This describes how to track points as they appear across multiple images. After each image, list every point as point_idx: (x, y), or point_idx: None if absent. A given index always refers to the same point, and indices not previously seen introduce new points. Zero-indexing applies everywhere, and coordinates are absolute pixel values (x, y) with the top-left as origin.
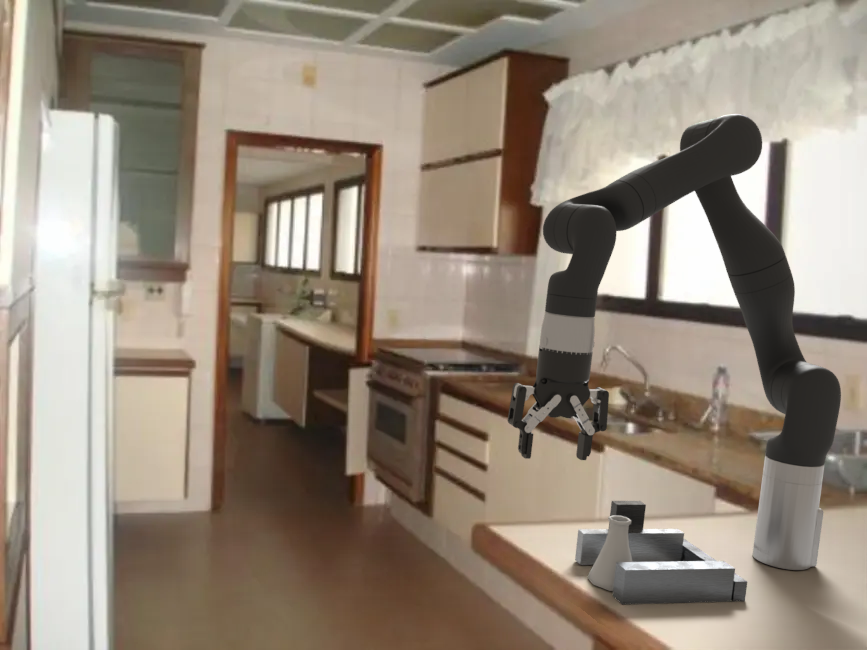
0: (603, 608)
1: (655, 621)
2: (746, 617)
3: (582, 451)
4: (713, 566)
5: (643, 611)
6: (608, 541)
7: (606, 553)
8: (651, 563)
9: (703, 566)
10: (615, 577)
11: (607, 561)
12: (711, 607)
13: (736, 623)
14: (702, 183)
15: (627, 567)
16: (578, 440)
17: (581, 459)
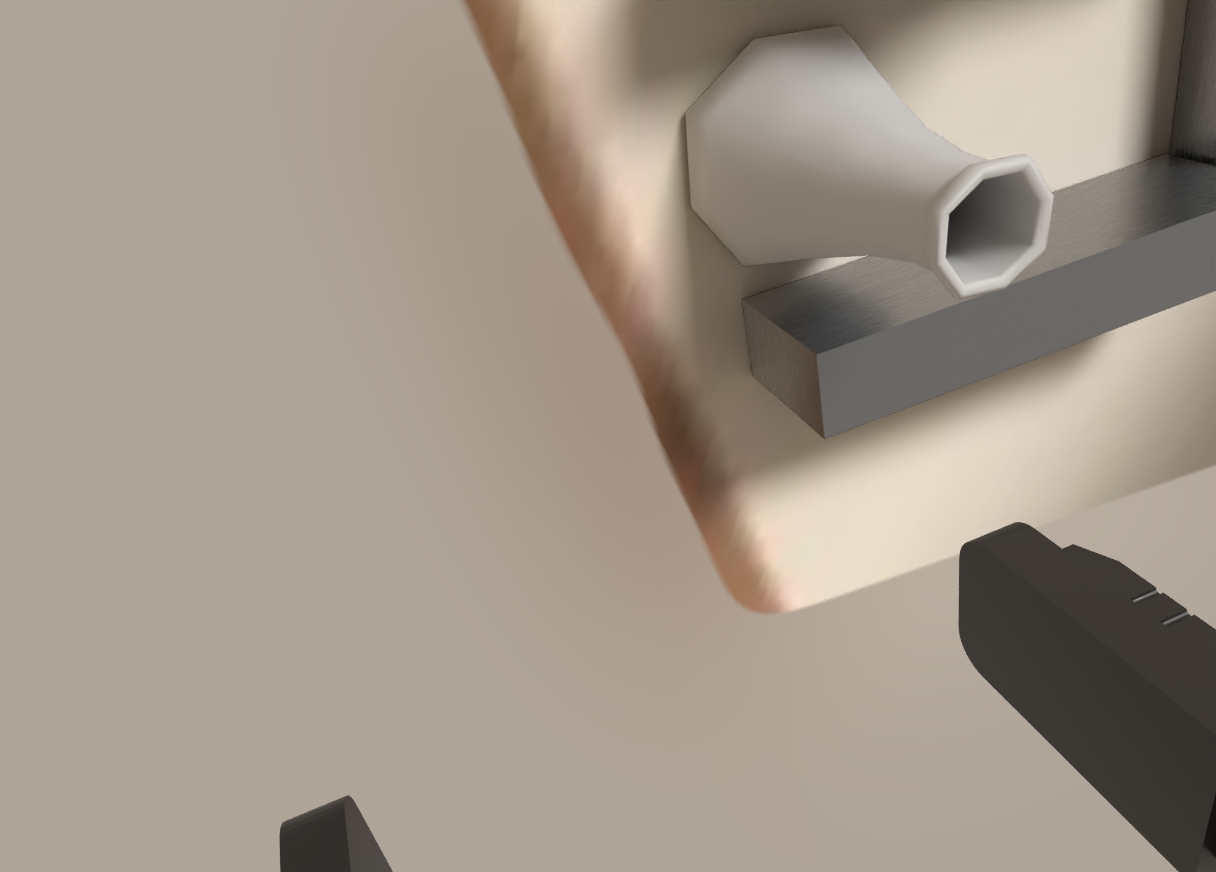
0: (672, 430)
1: (820, 480)
2: (1122, 356)
3: (1027, 713)
4: (1205, 272)
5: None
6: (855, 219)
7: (812, 222)
8: (969, 318)
9: (1166, 286)
10: (782, 336)
11: (796, 235)
12: None
13: (1065, 413)
14: None
15: (843, 404)
16: (1119, 666)
17: (966, 647)
